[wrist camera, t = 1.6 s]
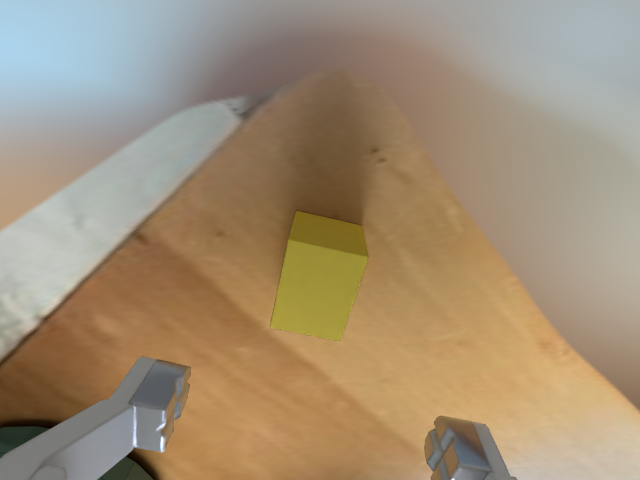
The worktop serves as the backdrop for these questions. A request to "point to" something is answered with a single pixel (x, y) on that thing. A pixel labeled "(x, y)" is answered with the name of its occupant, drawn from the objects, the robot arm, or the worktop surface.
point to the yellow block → (319, 276)
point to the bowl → (123, 476)
